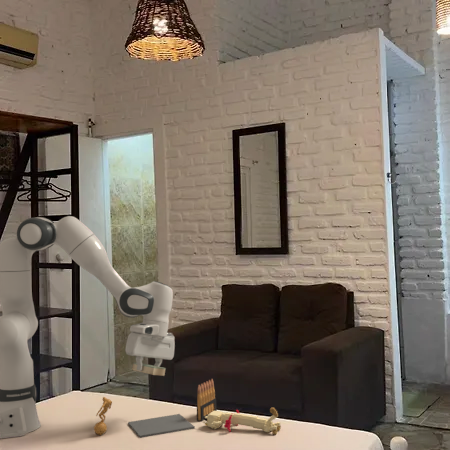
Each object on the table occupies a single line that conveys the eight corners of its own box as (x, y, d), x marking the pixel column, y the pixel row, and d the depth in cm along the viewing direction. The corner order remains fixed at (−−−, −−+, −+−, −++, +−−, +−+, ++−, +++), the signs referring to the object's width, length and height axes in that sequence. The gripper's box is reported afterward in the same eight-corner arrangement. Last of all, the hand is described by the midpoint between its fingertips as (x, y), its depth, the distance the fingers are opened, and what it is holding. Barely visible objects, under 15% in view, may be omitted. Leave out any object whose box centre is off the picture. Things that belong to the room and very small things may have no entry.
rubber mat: (139, 437, 190) (139, 435, 190) (128, 423, 205) (128, 422, 205) (194, 428, 197) (194, 426, 197) (179, 415, 212) (179, 413, 212)
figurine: (101, 430, 199) (100, 393, 200) (118, 431, 197) (116, 393, 198) (88, 438, 191) (86, 400, 192) (105, 439, 190) (103, 400, 190)
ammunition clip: (201, 421, 204) (200, 385, 204) (196, 421, 205) (195, 385, 205) (217, 412, 213) (215, 378, 213) (212, 412, 214) (210, 377, 214)
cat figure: (282, 432, 194) (210, 419, 203) (283, 404, 194) (210, 393, 203) (272, 442, 185) (197, 429, 194) (274, 413, 185) (198, 401, 194)
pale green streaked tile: (164, 375, 204) (143, 371, 210) (165, 368, 204) (144, 363, 211) (152, 374, 200) (131, 370, 206) (154, 367, 200) (133, 362, 206)
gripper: (168, 332, 218) (161, 371, 215) (126, 325, 202) (118, 367, 200) (181, 334, 214) (174, 374, 211) (139, 327, 198) (131, 370, 196)
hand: (147, 371), depth 205 cm, fingers closed on pale green streaked tile, 5 cm apart
